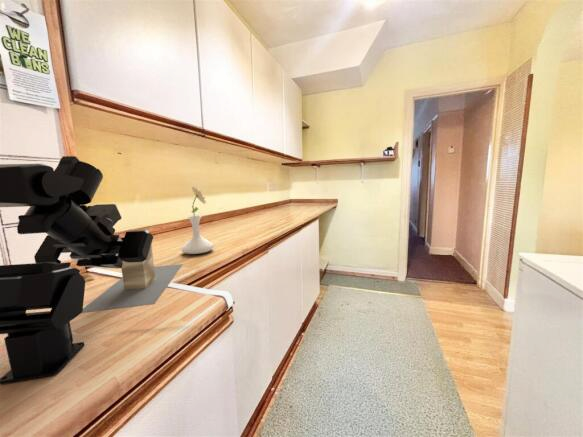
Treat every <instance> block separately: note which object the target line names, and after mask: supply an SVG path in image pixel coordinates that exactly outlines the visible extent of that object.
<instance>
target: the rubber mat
mask: <svg viewBox="0 0 583 437" xmlns="http://www.w3.org/2000/svg"><path fill="white" fill-rule="evenodd" d="M182 267H183V263H180V264H169V265H159V266H154V270H155V278H156V280H155V281H154V282H153V283H152V284H150V285H149V286H148V287H147V288H140V289H124V283H123V276H122V277H121V278H119V280H118V281H116V282H115V283H114V284H112V285H111V286H110V287H109V288H107V289H106V290H105V291H104V292H102V293H101V294H99V295H98V296H97V297H96V298H94V299H93V300H92V301H90V302H89V303H88V304H87V305H86V306H85V307H84V306H83V311H82V313H90V312H99V311H107V310H116V309H122V308H123V309H124V308H133V307H141V306H148V305H156V303H157V301H158V300H159V299H160V297H161V296H162V294H164V292H165V290H166V289H167V287H168V286H169V285H170V284H171V282H172V281H173V279H174V278H175V276H176V275H177V274H178V272H179V271H180V269H181V268H182ZM82 313H81V314H82Z"/></svg>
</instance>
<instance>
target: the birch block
mask: <svg viewBox="0 0 583 437" xmlns="http://www.w3.org/2000/svg"><path fill="white" fill-rule="evenodd" d="M152 245H153V244H152V243H151V247H150V250H149V253H148V256H147V259H146V260H145V261H143V262H130V263H129V262H125V261H122V262H123V265H122V268H120V269H121V274H122V275H121V276H122V277H123V283H124V289H140V288H147V287H148V286H149V285H150V284H152V283H153V282H154V281H155V280H156V278H155V270H154V267H155V263H154V254H153V246H152Z"/></svg>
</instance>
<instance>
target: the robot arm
mask: <svg viewBox="0 0 583 437" xmlns="http://www.w3.org/2000/svg"><path fill="white" fill-rule="evenodd" d="M103 179H104V175H103V173H102V170H100V168H97V167H95V166H94V165H93V164H90V163H88V162H85V161H82V160H80V159H79V158H78V157H77V156H75V155H73V156H71V155H69V156H67V155H65V156H64V155H63V156H62V157H61V158H60V160H59V162H58V164H57V166H56V168H55V169H54V167H53V166H51V165H48V164H46V163H11V164H10V163H9V164H7V163H6V164H5V163H4V164H3V163H2V164H0V208H14V207H15V208H18V207H19V208H20V207H22V208H23V207H29V208H28V209H27V211H26V212H25V213H24V214H22V215H18V216H17V219H18V224H17V227H16V231H17V234H19V235H31V234H33V235H34V234H47V235H46V236H45V238H44V239H43V241H42V243H41V244H40V245H39V248H38V249H37V251H36V253H35V254H34V256H33V258H34V262H35V263H34V262H32V263H17V264H3V265H2V264H1V265H0V335H7V336H6V337H4V338H3V340H4V341H3V342H4V344H5V349H6V354H7V358H8V362H9V366H10V370H9V371H7V372H6V373H5V374H3V376H2V377H0V385H2V384H9V383H14V382H20V381H21V382H22V381H27V380H33V379H39V378H46V377H50V376H52V377H53V376H54V375H56V374H58V373H59V372H61V370H62V369H63V368H64V367H65V366H66V365H67V364H68V363H69V362H70V361H71V360H72V359H73V358H74V357H75V356H76V354H79V352H80V351H81V350H82V349H83V348H84V347H85V342H84V341H80V342H79V341H78V342H74V338H73V333H72V327H71V322H72V320H74V319H76V317H78V316H80V315H82V311H83V308H84V301H85V300H84V299H85V291H86V290H85V289H86V282H85V280H84V278H83V276H82V274H80V272H81V271H80V269H78V268H77V267H87V268H88V267H89V268H102V269H103V268H105V269H117V270H118V269H121V268H122V265H123V262H122V261H125V262H129V263H130V262H143V261H145V260H146V259H147V256H148V253H149V250H150V247H151V244H152V243H153V239H154V236H153V235H152V233H151V232H150V230H148V229H134V230H133V229H132V230H127V231H125V234H124V237H121V235H120V234H116V233H115V232H116V229H115V228H114V227H115V225H116V224H117V223H118V222H119V221H120V220H122V215H121V213H120V211H119V209H118V207H117V205H116V203H107V204H106V203H105V204H94V205H87V204H90V203H92V201H93V198H94V197H95V194H96V193H97V191H98V189H99V187H100V184H101V183H102V181H103ZM66 253H67V254H68V253H70V254H69V258H70V259H71V260H75V261H76V264H75V265H76V266H77V267H73V266H71V262H62V261H61V260H60V259H59V257H61V254H66ZM70 266H71V267H70ZM49 309H50V310H49ZM32 310H33V311H34V310H46V311H37V312H36V311H35V312H33V311H32ZM27 311H32V312H27Z"/></svg>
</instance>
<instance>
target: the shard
mask: <svg viewBox="0 0 583 437" xmlns="http://www.w3.org/2000/svg"><path fill="white" fill-rule="evenodd" d="M81 275H82V276H83V278H84V280H85V283H88V282H91V281H95V280H96V279H95V278H94V276H93V275H91V274H89V273H88V272H87V273H82V274H81Z"/></svg>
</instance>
